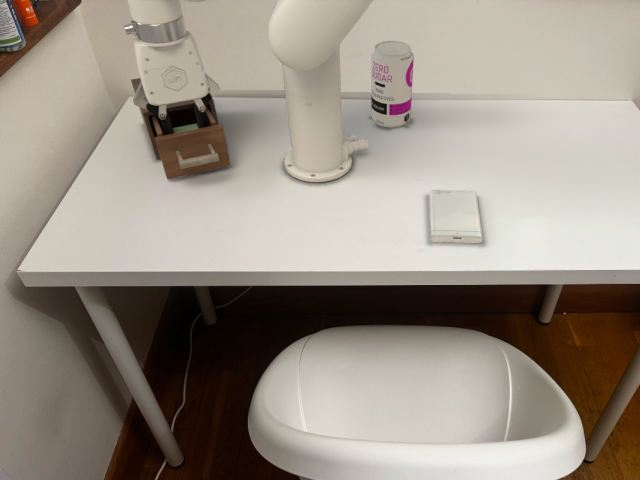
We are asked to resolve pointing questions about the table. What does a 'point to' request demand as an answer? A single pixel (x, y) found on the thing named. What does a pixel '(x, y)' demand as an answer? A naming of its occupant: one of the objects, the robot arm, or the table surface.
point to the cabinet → (169, 108)
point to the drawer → (190, 144)
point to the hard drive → (455, 216)
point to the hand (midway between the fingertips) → (186, 132)
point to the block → (185, 128)
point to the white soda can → (391, 83)
